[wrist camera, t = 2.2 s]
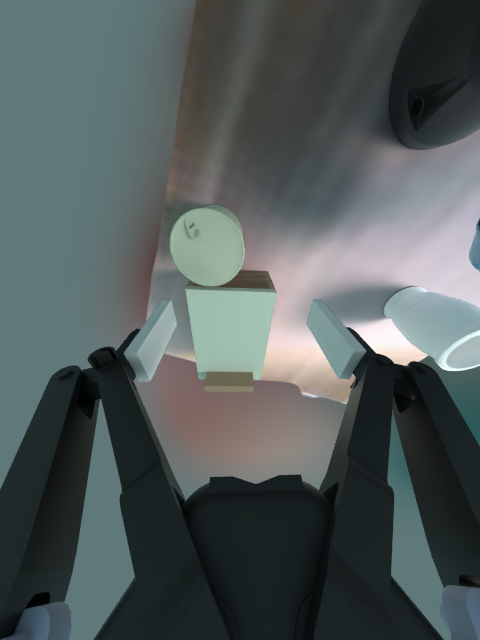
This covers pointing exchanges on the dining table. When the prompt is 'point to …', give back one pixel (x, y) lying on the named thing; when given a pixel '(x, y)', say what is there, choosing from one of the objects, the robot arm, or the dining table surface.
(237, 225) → the can
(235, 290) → the lid
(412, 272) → the dining table surface
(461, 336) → the jar
